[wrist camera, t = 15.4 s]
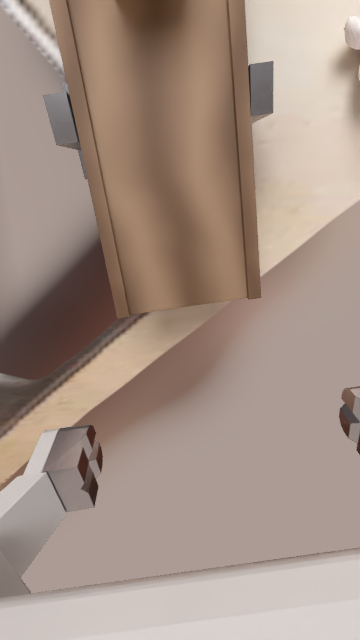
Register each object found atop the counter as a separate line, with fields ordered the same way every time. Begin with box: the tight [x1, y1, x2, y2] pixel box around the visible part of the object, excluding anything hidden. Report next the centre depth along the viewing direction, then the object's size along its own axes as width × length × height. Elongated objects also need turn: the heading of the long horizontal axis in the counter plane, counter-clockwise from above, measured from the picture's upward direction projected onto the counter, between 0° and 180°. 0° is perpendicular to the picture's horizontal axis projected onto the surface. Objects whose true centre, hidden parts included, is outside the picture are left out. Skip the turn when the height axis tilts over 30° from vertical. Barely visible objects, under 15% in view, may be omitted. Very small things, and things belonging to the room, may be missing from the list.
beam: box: [49, 0, 261, 318], centre depth 22 cm, size 12×30×3 cm, turn 8°
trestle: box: [43, 61, 273, 179], centre depth 24 cm, size 17×18×10 cm
